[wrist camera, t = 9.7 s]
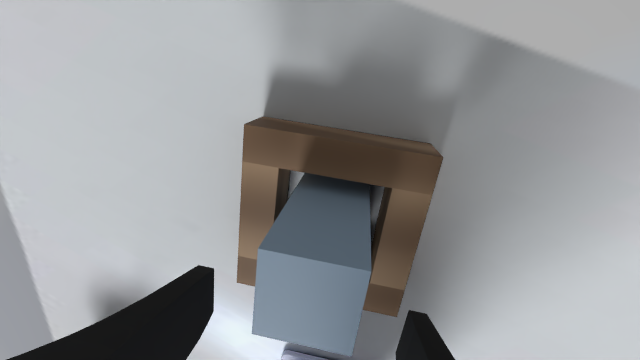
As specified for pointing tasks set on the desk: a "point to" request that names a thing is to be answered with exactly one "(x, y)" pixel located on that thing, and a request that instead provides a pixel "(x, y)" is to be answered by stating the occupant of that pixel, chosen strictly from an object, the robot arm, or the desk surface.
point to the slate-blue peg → (316, 266)
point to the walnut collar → (349, 164)
